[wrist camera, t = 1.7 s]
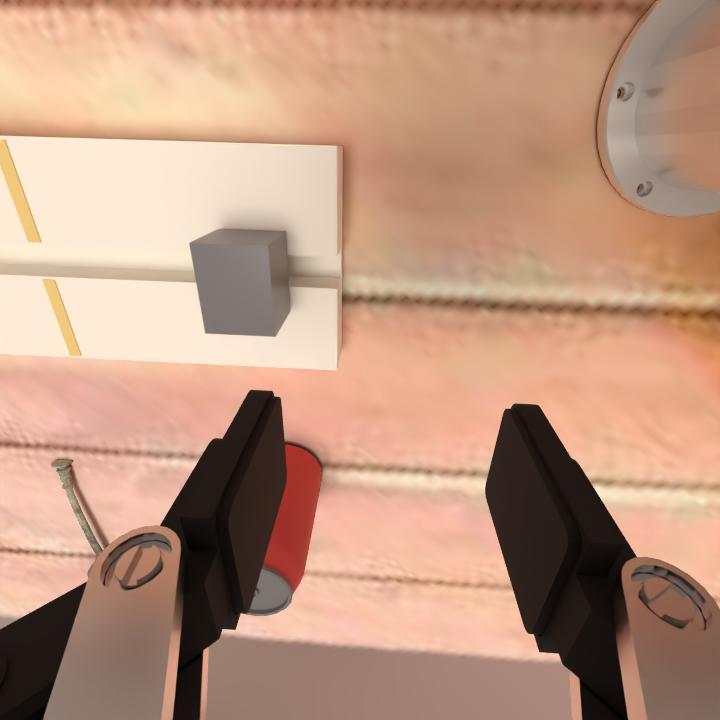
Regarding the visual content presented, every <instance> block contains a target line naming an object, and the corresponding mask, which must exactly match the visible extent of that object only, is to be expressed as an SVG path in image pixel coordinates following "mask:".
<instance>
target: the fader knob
mask: <svg viewBox="0 0 720 720" xmlns="http://www.w3.org/2000/svg"><path fill="white" fill-rule="evenodd" d="M189 245H190V250H191V256H192V262H193V267H194V273H195V279H196V284H197V290H198V295H199V301H200V307H201V312H202V318H203V324H204V329H205V334H225V335H247V336H268V337H276V335H277V334H278V332H279V330H280V329H281V327H282V325H283V323H284V322H285V320H286V318H287V316H288V315H289V313H290V311H291V309H290V293H289V276H288V260H287V244H286V231H264V230H237V229H217V230H215V231H213V232H211V233H209V234H207V235H204V236H202V237H200V238H198V239H196V240H194V241H192V242H190V243H189Z"/></svg>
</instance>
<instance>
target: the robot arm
mask: <svg viewBox="0 0 720 720" xmlns="http://www.w3.org/2000/svg"><path fill="white" fill-rule="evenodd" d="M618 89H620V90H621V95H620V97H619V98H617V91H618ZM597 132H598V149H599V153H600V158H601V162H602V166H603V168H604V170H605V173H606V175H607V177H608V179H609V181H610V183H611V184H612V185H613V186H614V188H615V189H616V190H617V191H618V192H619V194H620V195H621V196H622V197H623V198H625V199H626V200H628V201H629V202H630V203H632V204H633V205H635V206H636V207H639V208H641V209H644V210H646V211H649V212H652V213H656V214H661V215H666V216H670V217H695V216H702V215H708V214H713V213H716V212H719V211H720V0H656V1H655V3H654V4H653V5H652V6H651V7H650V8H649V10H648V11H647V12H646V13H645V14H644V15H643V17H642V18H641V19H640V20H639V21H638V23H637V24H636V26H635V27H634V29H633V30H632V32H631V33H630V35H629V36H628V38H627V40H626V41H625V43H624V44H623V46H622V47H621V49H620V51H619V53H618V56H617V58H616V60H615V62H614V64H613V66H612V68H611V70H610V73H609V75H608V78H607V81H606V85H605V88H604V91H603V94H602V98H601V102H600V109H599V116H598V123H597ZM639 185H640V188H639V190H638V191H637V188H638V186H639ZM286 482H287V465H286V453H285V441H284V429H283V418H282V406H281V399H280V397H274V393H273V392H272V391H262V390H250V391H249V392H248V394H247V396H246V398H245V400H244V401H243V403H242V405H241V407H240V409H239V410H238V412H237V414H236V416H235V417H234V419H233V421H232V423H231V425H230V426H229V428H228V430H227V432H226V434H225V435H224V437H223V439H218V438H215V439H213V440H212V441H211V442H210V443H209V444H208V446H207V448H206V450H205V451H204V453H203V455H202V456H201V458H200V460H199V461H198V463H197V465H196V466H195V468H194V470H193V471H192V473H191V475H190V476H189V478H188V480H187V481H186V483H185V485H184V486H183V488H182V490H181V491H180V493H179V495H178V496H177V498H176V500H175V501H174V503H173V505H172V506H171V508H170V510H169V511H168V513H167V515H166V516H165V518H164V520H163V521H162V523H161V525H160V526H157V525H156V526H145V527H141V528H138V529H135V530H132V531H130V532H128V533H126V534H124V535H122V536H120V537H119V538H117V539H116V540H115V541H113V542H112V543H111V544H110V545H108V546H107V547H106V548H105V549H104V550H103V552H102V553H101V554H100V555H99V556H98V558H97V559H96V561H95V563H94V565H93V567H92V569H91V572H90V575H89V578H88V581H87V582H85V583H84V584H82V585H80V586H78V587H76V588H75V589H73V590H71V591H69V592H67V593H66V594H64V595H62V596H60V597H58V598H56V599H55V600H53V601H51V602H49V603H47V604H46V605H44V606H42V607H40V608H38V609H36V610H35V611H33V612H31V613H29V614H27V615H26V616H24V617H22V618H20V619H18V620H17V621H15V622H13V623H11V624H9V625H7V626H6V627H4V628H2V629H0V720H206V703H207V675H208V650H209V646H210V645H211V644H213V643H214V642H215V641H217V640H218V639H219V638H220V635H221V632H222V629H231V630H236V626H237V623H238V620H239V617H240V614H241V613H245V614H247V613H248V612H249V610H250V607H251V604H252V601H253V597H254V594H255V590H256V587H257V583H258V580H259V577H260V573H261V570H262V566H263V563H264V559H265V556H266V553H267V549H268V546H269V542H270V539H271V535H272V532H273V529H274V525H275V522H276V518H277V515H278V511H279V508H280V505H281V501H282V498H283V494H284V491H285V487H286ZM485 493H486V499H487V503H488V506H489V510H490V513H491V516H492V520H493V523H494V527H495V530H496V533H497V537H498V540H499V543H500V547H501V550H502V554H503V557H504V560H505V564H506V567H507V570H508V574H509V577H510V581H511V584H512V587H513V591H514V594H515V597H516V601H517V604H518V608H519V611H520V614H521V618H522V621H523V624H524V627H525V629H526V631H527V633H528V634H534V636H535V639H536V643H537V646H538V649H539V652H546V653H559V656H560V658H561V661H562V664H563V665H564V666H565V667H567V668H568V669H569V670H570V688H571V706H572V707H571V708H572V720H720V609H719V607H718V605H717V603H716V602H715V600H714V599H713V598H712V596H711V595H710V594H709V593H708V592H707V591H706V589H705V588H704V587H703V586H702V585H700V584H699V583H698V582H697V581H696V580H695V579H693V578H692V577H691V576H690V575H688V574H687V573H685V572H683V571H682V570H680V569H679V568H677V567H675V566H673V565H671V564H669V563H666V562H664V561H661V560H658V559H654V558H649V557H637V556H636V555H635V553H634V552H633V550H632V548H631V547H630V545H629V544H628V542H627V540H626V539H625V537H624V536H623V534H622V532H621V531H620V529H619V528H618V526H617V524H616V523H615V521H614V520H613V518H612V516H611V515H610V513H609V512H608V510H607V508H606V507H605V505H604V504H603V502H602V500H601V499H600V497H599V496H598V494H597V492H596V491H595V489H594V488H593V486H592V484H591V483H590V481H589V480H588V478H587V476H586V475H585V473H584V472H583V470H582V468H581V467H580V465H579V464H578V463H577V462H576V461H575V460H574V459H572V458H571V457H570V455H569V454H568V452H567V450H566V449H565V447H564V446H563V444H562V442H561V441H560V439H559V437H558V436H557V434H556V433H555V431H554V429H553V428H552V426H551V424H550V423H549V421H548V419H547V418H546V416H545V415H544V413H543V411H542V410H541V408H540V407H539V406H538V405H533V404H513V405H512V407H511V409H505V411H504V413H503V417H502V421H501V425H500V429H499V433H498V437H497V441H496V445H495V449H494V453H493V457H492V461H491V465H490V470H489V474H488V478H487V482H486V487H485Z"/></svg>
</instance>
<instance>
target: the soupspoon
mask: <svg viewBox="0 0 720 720" xmlns="http://www.w3.org/2000/svg"><path fill="white" fill-rule="evenodd" d="M72 462H73V461H72V460H62V459H61V460H56V461H54V462H52V463H51V467H53V468H57V470H56V471H57V472H58V473H59V476H60V479H61V481H62V482H63V483H64V484H63V486H62V488H63V489H65V490H66V493H67V496H68V498H69V501H70V503H71V506H72V508H73V511H74V513H75V515H76V517H77V519H78V521H79V523H80V525H81V527H82V529H83V531H84V533H85V535H86V537H87V539H88V541H89V543H90V546H91V547H92V549H93V550H94V552H95V554H96V555H97V557H98V556H99V555H100V554H101V553H102V552H103V550H102V548H101V547H100V545H99V543H98V542H97V540H96V538H95V536H94V534H93V532H92V530H91V528H90V526H89V524H88V522H87V520H86V518H85V516H84V514H83V512H82V510H81V508H80V505H79V503H78V501H77V498H76V496H75V494H74V491H73V489H72V488H73V486H74V484H73V483H71V478H72V475H71V472H70V470H71V467H70V466H69V464H71V463H72ZM93 565H94V564H93ZM93 565H92V566H91V567H90V569H89V571H88V578H89V575H90V572H91V569H92V567H93Z"/></svg>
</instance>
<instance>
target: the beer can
mask: <svg viewBox="0 0 720 720" xmlns="http://www.w3.org/2000/svg"><path fill="white" fill-rule="evenodd" d="M285 453H286V465H287V482H286V487H285V491H284V494H283V498H282V501H281V505H280V508H279V511H278V515H277V518H276V522H275V525H274V529H273V532H272V535H271V539H270V542H269V546H268V549H267V553H266V556H265V559H264V563H263V566H262V570H261V573H260V577H259V580H258V583H257V587H256V590H255V594H254V597H253V601H252V604H251V607H250V610H249V612H248V613H247V614H248V615H254V616H267V615H271V614H276V613H278V612H280V611H282V610H284V609H285V608H287V606H288V605H289V604H290V603H291V600H292V595H293V593H294V592H295V590H296V588H297V587H298V585H299V584H300V582H301V579H302V577H303V575H304V570H305V566H306V560H307V555H308V550H309V544H310V539H311V534H312V528H313V523H314V518H315V512H316V507H317V502H318V496H319V491H320V486H321V480H322V471H321V466H320V464H319V463H318V461H317V460H316V458H315V457H314V456H312V455H311V454H310V453H309V452H308V451H306V450H304V449H302V448H299V447H297V446H292V445H285ZM243 614H245V613H243Z"/></svg>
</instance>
